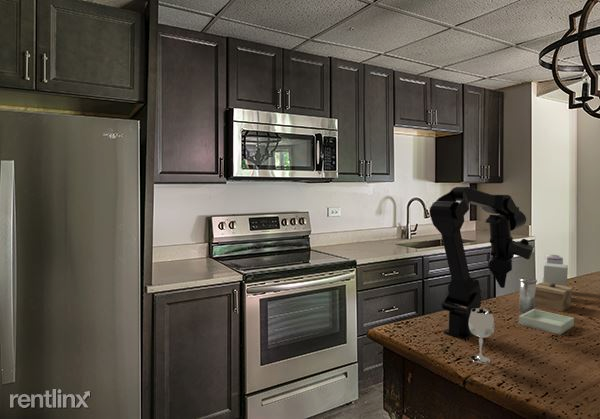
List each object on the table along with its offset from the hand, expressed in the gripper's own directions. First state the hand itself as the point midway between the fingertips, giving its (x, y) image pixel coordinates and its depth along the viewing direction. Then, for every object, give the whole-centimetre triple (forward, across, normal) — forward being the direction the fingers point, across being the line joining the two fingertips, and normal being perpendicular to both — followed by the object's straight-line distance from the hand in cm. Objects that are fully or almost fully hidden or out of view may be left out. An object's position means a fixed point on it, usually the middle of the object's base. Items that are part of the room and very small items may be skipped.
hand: (503, 282), depth 124 cm
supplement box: (+19, +34, -14) cm, 42 cm away
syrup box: (+20, +45, -14) cm, 51 cm away
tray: (+13, -1, -11) cm, 17 cm away
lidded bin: (+16, +22, -13) cm, 31 cm away
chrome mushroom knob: (+14, +11, -6) cm, 19 cm away
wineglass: (+6, -37, +3) cm, 38 cm away
